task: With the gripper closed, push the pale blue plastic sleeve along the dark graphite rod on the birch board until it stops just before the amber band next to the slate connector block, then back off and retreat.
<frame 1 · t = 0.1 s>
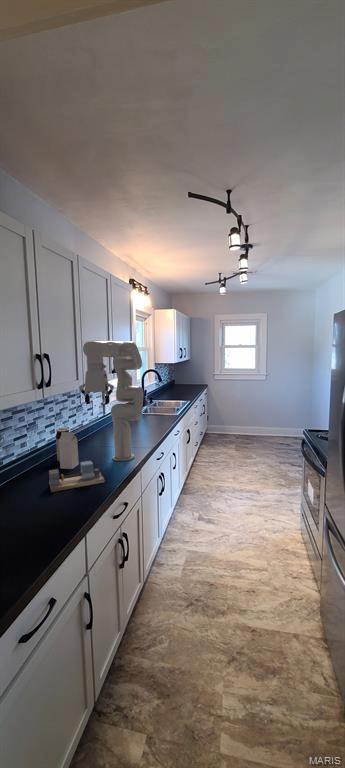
hand: (97, 403, 164), 37 cm above the worktop, tool pointing down, fingers open, 9 cm apart
slider mechanism: (77, 483, 164), on the worktop
milk carton: (69, 467, 188), on the worktop
sleeve: (87, 470, 166), point 6 cm above the worktop, slide at 0.0 cm
travel mug: (64, 460, 200), on the worktop
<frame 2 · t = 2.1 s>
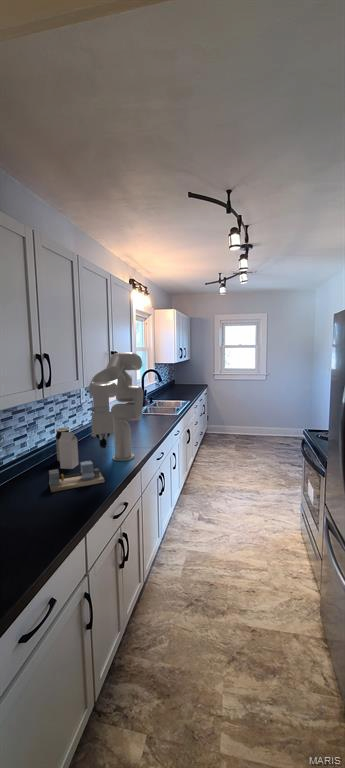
hand: (103, 447, 168), 16 cm above the worktop, tool pointing down, fingers closed
nothing on the worktop moved.
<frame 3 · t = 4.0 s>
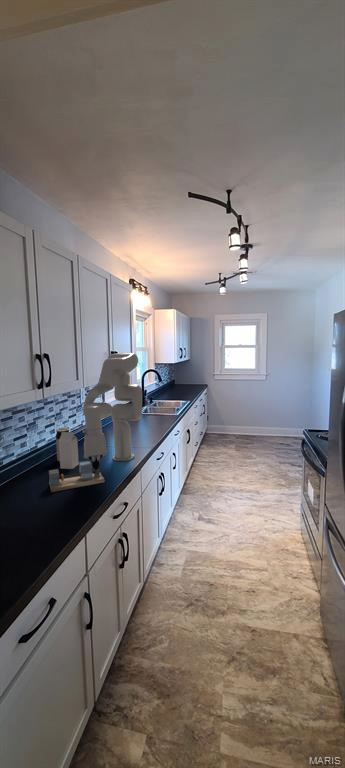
hand: (96, 468, 167), 6 cm above the worktop, tool pointing down, fingers closed
sleeve: (85, 470, 165), point 6 cm above the worktop, slide at 0.6 cm, touching gripper
everything else where it was.
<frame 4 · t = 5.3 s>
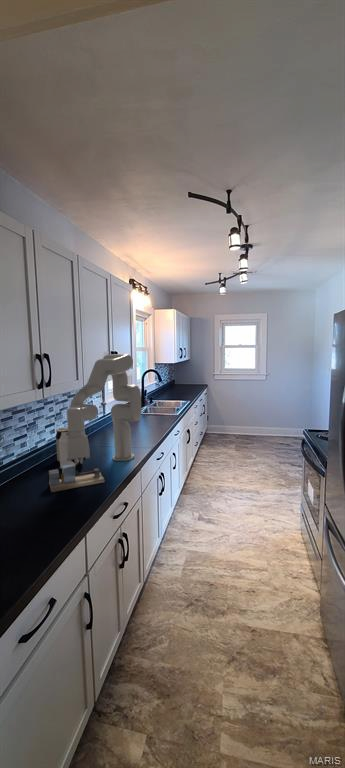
hand: (79, 471, 164), 6 cm above the worktop, tool pointing down, fingers closed
sleeve: (68, 473, 162), point 5 cm above the worktop, slide at 8.5 cm, touching slider mechanism, gripper
everything else where it was.
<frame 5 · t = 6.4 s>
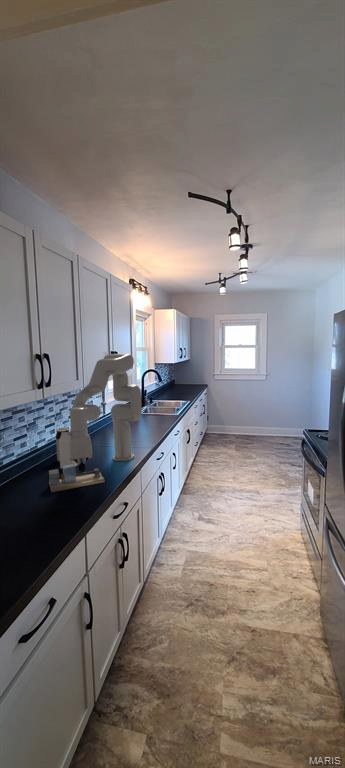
hand: (81, 471, 165), 5 cm above the worktop, tool pointing down, fingers closed
sleeve: (69, 473, 162), point 5 cm above the worktop, slide at 8.3 cm
everything else where it was.
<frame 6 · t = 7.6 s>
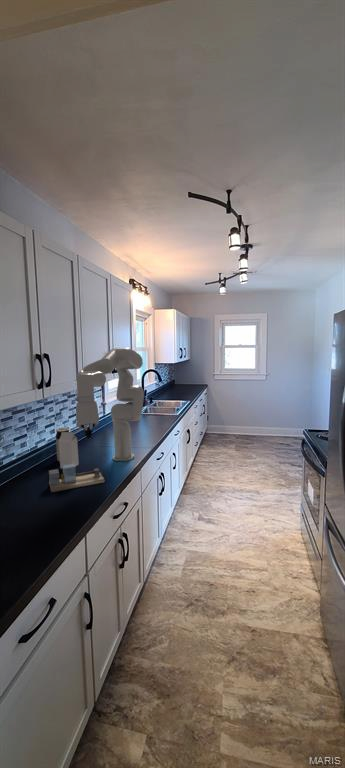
hand: (88, 437, 165), 21 cm above the worktop, tool pointing down, fingers closed
nothing on the worktop moved.
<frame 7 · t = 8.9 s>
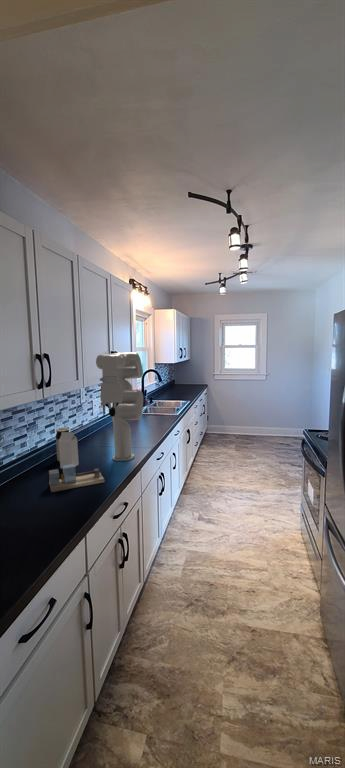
hand: (112, 416, 175), 29 cm above the worktop, tool pointing down, fingers closed
nothing on the worktop moved.
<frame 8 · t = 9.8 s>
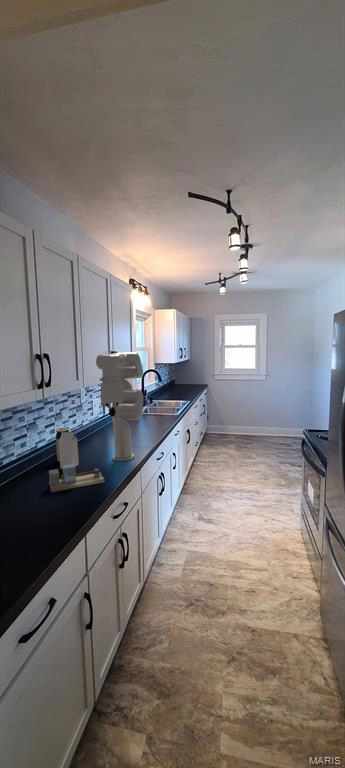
hand: (112, 416, 175), 29 cm above the worktop, tool pointing down, fingers closed
nothing on the worktop moved.
at the end: sleeve slide at 8.3 cm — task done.
